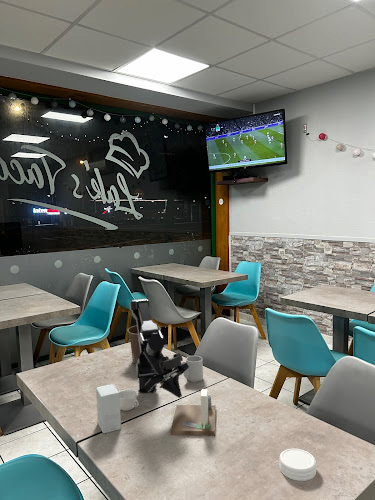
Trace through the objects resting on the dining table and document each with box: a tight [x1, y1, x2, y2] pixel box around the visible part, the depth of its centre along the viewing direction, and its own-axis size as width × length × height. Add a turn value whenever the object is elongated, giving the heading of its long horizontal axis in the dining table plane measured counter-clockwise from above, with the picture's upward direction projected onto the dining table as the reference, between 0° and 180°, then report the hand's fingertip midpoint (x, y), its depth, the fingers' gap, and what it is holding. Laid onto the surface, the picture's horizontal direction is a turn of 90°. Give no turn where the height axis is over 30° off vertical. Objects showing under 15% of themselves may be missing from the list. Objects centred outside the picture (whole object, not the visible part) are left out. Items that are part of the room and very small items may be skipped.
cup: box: [182, 355, 204, 383], centre depth 170 cm, size 7×10×9 cm
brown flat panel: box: [170, 404, 217, 437], centre depth 136 cm, size 14×17×2 cm
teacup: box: [118, 389, 140, 412], centre depth 146 cm, size 10×8×5 cm
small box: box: [95, 383, 122, 434], centre depth 134 cm, size 8×6×13 cm
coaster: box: [278, 448, 317, 482], centre depth 110 cm, size 10×10×4 cm
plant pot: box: [126, 324, 162, 365], centre depth 193 cm, size 16×16×16 cm
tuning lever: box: [200, 388, 212, 429], centre depth 135 cm, size 16×4×10 cm, turn 174°
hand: (180, 396), depth 138 cm, fingers closed
